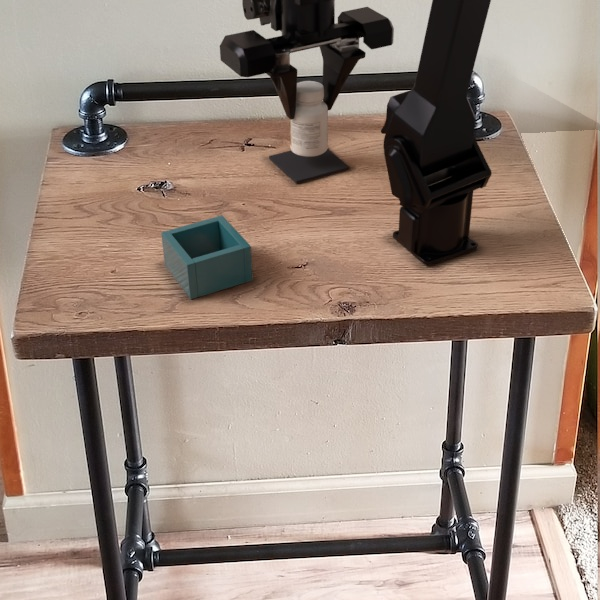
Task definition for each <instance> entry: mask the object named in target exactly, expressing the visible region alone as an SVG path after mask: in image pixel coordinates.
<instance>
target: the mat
mask: <svg viewBox="0 0 600 600" xmlns="http://www.w3.org/2000/svg"><path fill="white" fill-rule="evenodd" d="M268 160H270V162H272V163H273V164H274V165H275V166H276V167H277V168H278V169H280V170H281V172H283V173H284V174H285V175H286V177H288V178H289V179H291V181H292V182H294V183H295V184H296V185H299V184H302V183H305V182H310V181H313V180H317V179H321V178H324V177H329V176H331V175H335V174H339V173H343V172H346V171H349V170H350V169H351V166H349V164H347V163H346V162H345V161H343V160H342V159H341V158H340V157H338V155H336V154H335V153H334V152H333V151H332V150H330V149H329V148H328V149H327V150H326V152H324V153H323V154H321V155H318V156H314V157H305V156H299V155H297V154H295V153H293V152H292V150H291V149H290V150H288V151H284V152H283V151H282V152H280V153H276V154H272V155H269V156H268Z"/></svg>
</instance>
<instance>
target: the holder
mask: <svg viewBox="0 0 600 600" xmlns="http://www.w3.org/2000/svg"><path fill="white" fill-rule="evenodd" d="M160 236H161V243H162V253H163V261H164V267H165V268H166V269H167V271H168V273H170V275H171V276H172V278H173V279H174V280H175V281H176V282H177V284H178V285H179V287H180V288H181V290H182V291H183V292H184V293H185V295H187V297H188V298H189V299H190V300H194V299H197V298H200V297H204V296H207V295H210V294H213V293H217V292H220V291H224V290H226V289H229V288H233V287H236V286H239V285H242V284H245V283H250V282H252V281H253V280H254V278H253V277H254V276H253V260H252V258H253V257H252V246H251V244H250V243H249V242H248V241H247V240H246V239H245V238H244V237H243V236H242V235H241V233H240V232H238V230H237V229H236V228H235V227H234V226H233V225H232V223H231V222H229V221H228V219H226V217H225V216H224V215H218V216H214V217H211V218H208V219H203V220H200V221H196V222H192V223H189V224H186V225H182V226H179V227H175V228H171V229H168V230H165V231H162V232H160Z"/></svg>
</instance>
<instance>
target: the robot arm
mask: <svg viewBox="0 0 600 600" xmlns="http://www.w3.org/2000/svg"><path fill="white" fill-rule="evenodd" d="M491 2H492V0H432V1H431V6H430V10H429V15H428V19H427V25H426V30H425V34H424V38H423V44H422V47H421V48H422V49H421V53H420V58H419V62H418V67H417V72H416V76H415V81H414V84H413V87H412V88H411V89H410V90H407V91H404V92H400V93H398V94H395V95H391V96H390V97H389V99H388V101H387V105H386V115H385V120H384V124H383V126H382V128H381V129H380V133H381V134H383V135H384V137H383V155H384V160H385V165H386V170H387V171H386V172H387V176H388V181H389V186H390V191H391V194H392V196H393V197H395V198H397V199H398V201H399V206H400V208H399V217H398V230H395V231H393V232H392V238H393V239H394V240H395V241H396V242H397V243H398V244H399V245H401V247H403V248H405V250H407V251H408V252H409V253H410V254H411V255H412V256H413V257H414V258H415V259H417V260H418V261H419V262H420V263H422V264H423V265H424V266H432V265H435V264H438V263H441V262H445V261H447V260H450V259H453V258H456V257H459V256H462V255H466V254H468V253H472V252H475V251H477V250H478V248H479V244H478V243H477V242H476V241H475V240H473V238H471V237H470V231H471V230H470V229H471V219H472V209H473V199H474V191H475V190H478V189H483V188H485V187H487V184H488V182H489V180H490V178H491V177H492V170H491V167H490V165H489V164H488V162H487V160H486V158H485V156H484V154H483V151H482V149H481V148H480V145H479V143H478V142H477V139H476V137H475V125H476V115H475V113H474V110H473V107H472V105H471V103H470V100H469V98H468V92H469V87H470V84H471V79H472V76H473V71H474V68H475V64H476V61H477V57H478V56H477V55H478V52H479V48H480V44H481V41H482V37H483V33H484V29H485V24H486V21H487V17H488V14H489V10H490V7H491V6H490V5H491ZM335 6H336V1H335V0H242V11H243V15H244V17H245V19H246V20H248V21H249V20H256V19H259V23H260V26H266V25H270V29H272V30H273V31H275V32H279V31H280V32H281V35H278V36H274V37H268V38H266V37H264V36H263V35H261V34H260V33H258V32H257V31H255V30H254V29H251V30H246V31H242V32H236V33H233V34H232V33H231V34H227V35H224V37H223V39H222V41H221V42H220V44H219V56H220V62H221V63H223V64H224V65H226V66H227V67H228V68H230V70H232V71H233V72H234V73H236V74H237V75H238V76H239V77H241V78H253V77H256V76H261V75H267V76H268V77H269V79H270V80H271V81H272V83H273V86H274V88H275V90H276V94H277V96H278V98H279V101H280V103H281V105H282V108H283V111H284V113H285V115H286V117H287V118H288V120H289V119H291V120H292V119H294V116H295V111H296V94H297V83H298V69H297V68H296V67H295V66H293V65H292V64H291V56H290V55H291V54H292V53H297V52H302V51H307V50H310V49H316V48H319V50H320V53H321V57H322V85H323V86H324V99H323V102H325V103H326V105H327V107H328V111H331V110H332V108H333V106H334V104H335V102H336V101H337V99H338V97H339V94H340V93H341V91H342V89H343V87H344V85H345V83H346V81H347V79H348V78H349V76H350V75H351V73H352V71H354V68H355V67H356V66H357V64H358V63H359V61H360V60H362V59H366V51H364V50H363V49H362V48H360V38H362V43H363V44H364V45H366V47H368V48H369V49H370V50H376V49H377V50H378V49H381V48H385V47H390V46H393V44H394V34H395V27H394V25H393V23H392V21H391V20H390V19H389V17H387V16H385V15H383V14H381V12H380V13H379V12H378V11H376V10H374V9H373V8H371V7H369V6H363V7H359V8H354V9H349V10H344V11H341V12H340V13H339V15H338V17H337V23H336V22H335V19H336V17H335V14H336V13H335V12H336V11H335V10H336V9H335V8H336V7H335Z"/></svg>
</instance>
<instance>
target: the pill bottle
mask: <svg viewBox="0 0 600 600" xmlns="http://www.w3.org/2000/svg"><path fill="white" fill-rule="evenodd" d="M323 99H324V86H323V83H322V82H319V81H315V80H302V81H299V82H297V94H296V111H295V116H294V119H292V120H291V119H289V118H288V120H289V123H288V125H289V142H290V143H289V146H290V151H291V150H292V152H293V153H295V154H297V155H299V156H305V157H314V156H318V155H321V154H323V153H324V152H326V150H327V149H329V110H328V107H327V105H326V103H325V102H323Z"/></svg>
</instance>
